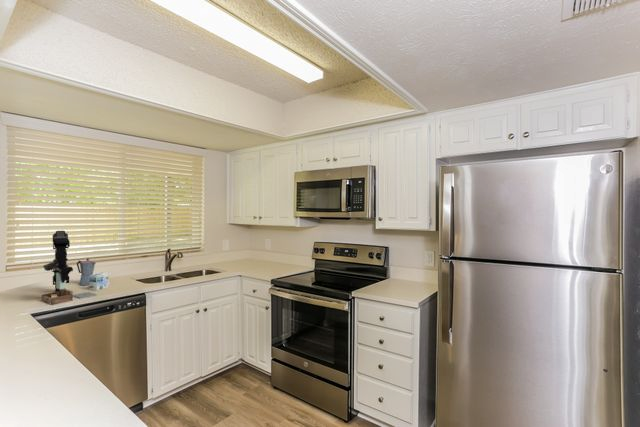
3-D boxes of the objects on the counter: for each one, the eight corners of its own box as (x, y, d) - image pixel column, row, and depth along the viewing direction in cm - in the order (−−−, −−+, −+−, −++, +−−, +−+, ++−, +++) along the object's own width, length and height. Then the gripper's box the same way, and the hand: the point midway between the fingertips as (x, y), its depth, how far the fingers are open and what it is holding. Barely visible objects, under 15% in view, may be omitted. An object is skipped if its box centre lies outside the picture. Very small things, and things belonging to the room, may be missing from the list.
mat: (71, 295, 216) (71, 295, 216) (88, 292, 225) (88, 292, 225) (79, 298, 210) (79, 297, 210) (97, 295, 218) (97, 294, 218)
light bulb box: (96, 290, 231) (96, 275, 231) (89, 290, 232) (88, 275, 232) (109, 287, 241) (109, 272, 241) (101, 286, 243) (101, 272, 243)
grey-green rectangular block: (56, 288, 206) (56, 272, 206) (61, 287, 209) (61, 271, 209) (59, 289, 203) (59, 273, 203) (65, 288, 206) (65, 272, 206)
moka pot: (91, 285, 245) (91, 259, 245) (71, 285, 245) (71, 259, 245) (100, 283, 254) (100, 257, 254) (80, 283, 255) (80, 257, 254)
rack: (41, 300, 204) (41, 291, 204) (61, 297, 213) (61, 288, 213) (52, 304, 196) (52, 294, 196) (72, 300, 205) (72, 291, 205)
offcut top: (51, 297, 205) (51, 294, 205) (56, 297, 207) (56, 293, 207) (51, 300, 199) (51, 297, 199) (57, 299, 201) (57, 296, 201)
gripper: (38, 257, 204) (39, 282, 204) (51, 260, 194) (51, 286, 194) (60, 255, 213) (60, 279, 213) (73, 257, 204) (73, 282, 204)
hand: (60, 281), depth 206 cm, fingers closed on grey-green rectangular block, 5 cm apart
